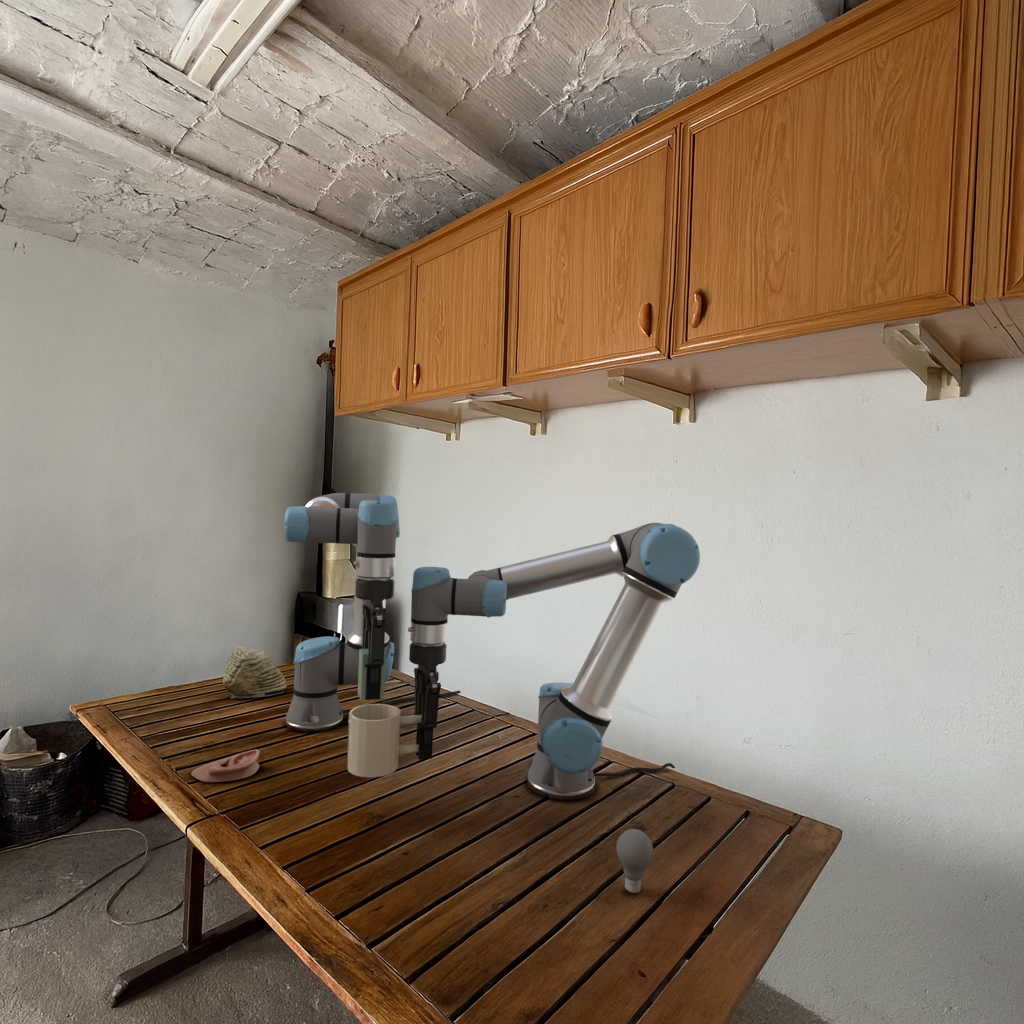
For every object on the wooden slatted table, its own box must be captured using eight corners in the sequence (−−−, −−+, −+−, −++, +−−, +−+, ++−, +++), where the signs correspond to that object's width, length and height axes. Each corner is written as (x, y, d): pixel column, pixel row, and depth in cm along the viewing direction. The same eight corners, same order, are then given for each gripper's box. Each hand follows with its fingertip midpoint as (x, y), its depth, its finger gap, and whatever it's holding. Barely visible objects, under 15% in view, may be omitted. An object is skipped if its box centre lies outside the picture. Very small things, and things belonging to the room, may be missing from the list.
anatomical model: (182, 760, 139) (216, 741, 150) (181, 778, 139) (216, 758, 150) (236, 768, 136) (267, 748, 147) (235, 786, 136) (266, 765, 147)
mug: (350, 780, 120) (352, 722, 120) (344, 759, 130) (346, 706, 129) (434, 770, 126) (436, 715, 126) (422, 751, 135) (424, 700, 135)
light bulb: (610, 879, 108) (613, 822, 108) (644, 879, 109) (647, 822, 109) (619, 902, 102) (622, 840, 102) (655, 901, 103) (658, 840, 103)
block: (357, 693, 127) (359, 649, 127) (380, 692, 129) (381, 648, 129) (360, 700, 123) (362, 654, 123) (383, 698, 125) (385, 653, 124)
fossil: (218, 695, 195) (220, 647, 195) (278, 685, 208) (279, 640, 207) (228, 703, 189) (230, 653, 188) (289, 692, 201) (290, 645, 201)
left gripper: (350, 572, 132) (346, 683, 133) (362, 584, 116) (357, 710, 116) (386, 572, 135) (382, 681, 135) (403, 583, 119) (398, 707, 119)
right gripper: (402, 635, 135) (398, 744, 136) (418, 652, 122) (413, 773, 122) (437, 634, 138) (432, 741, 139) (455, 650, 125) (451, 768, 125)
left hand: (370, 694), depth 126 cm, fingers closed on block, 4 cm apart
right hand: (423, 756), depth 130 cm, fingers closed on mug, 2 cm apart
